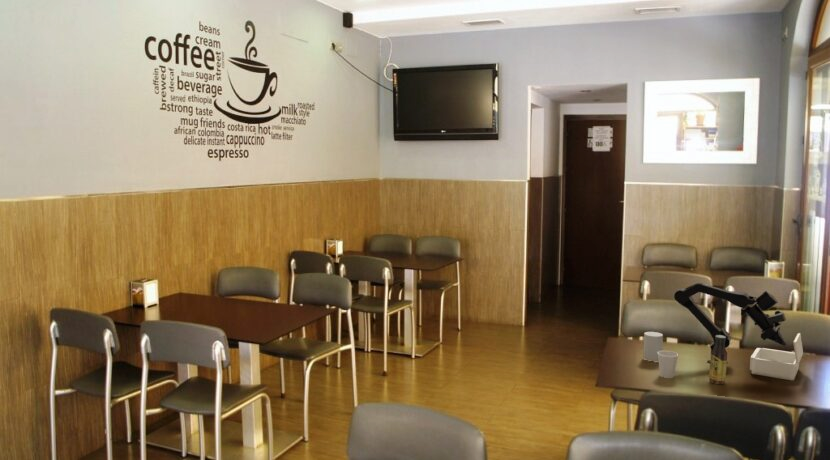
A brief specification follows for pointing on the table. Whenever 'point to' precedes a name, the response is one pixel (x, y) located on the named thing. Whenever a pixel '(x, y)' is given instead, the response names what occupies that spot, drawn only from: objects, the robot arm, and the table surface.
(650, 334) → the cup
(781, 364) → the carton
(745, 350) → the table surface
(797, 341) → the carton flap
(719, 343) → the sauce bottle
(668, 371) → the dixie cup
